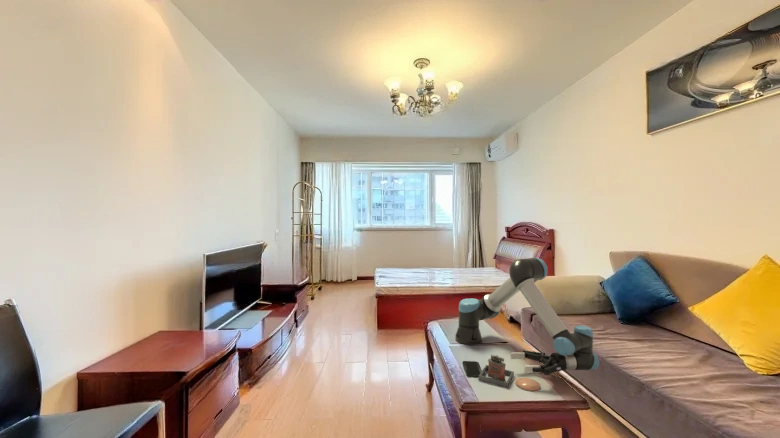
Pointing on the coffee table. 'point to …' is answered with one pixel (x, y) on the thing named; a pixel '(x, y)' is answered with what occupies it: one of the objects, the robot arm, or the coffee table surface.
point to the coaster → (527, 384)
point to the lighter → (496, 368)
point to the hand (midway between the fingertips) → (517, 362)
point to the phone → (472, 368)
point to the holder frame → (495, 381)
